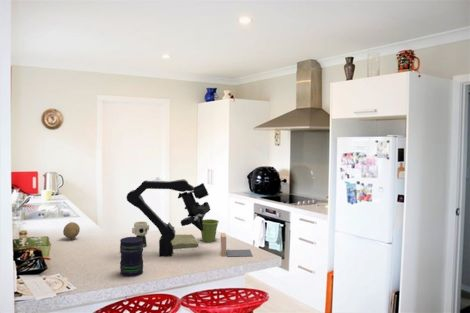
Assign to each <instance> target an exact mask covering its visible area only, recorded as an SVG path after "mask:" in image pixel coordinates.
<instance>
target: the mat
mask: <svg viewBox="0 0 470 313" xmlns="http://www.w3.org/2000/svg"><path fill="white" fill-rule="evenodd" d="M242 257H243V258H248V257H251V258H252V257H254V255H253V253H252V251H251V249H226V258H242Z"/></svg>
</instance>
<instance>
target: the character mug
mask: <svg viewBox="0 0 470 313" xmlns="http://www.w3.org/2000/svg"><path fill="white" fill-rule="evenodd" d="M149 230H150V225H149V224H148V222H147V221H135V222H134V223H133V227H132V228H131V233H132V234H134V235H135V237H141V238H143V247H146V246H147V244H148V243H147V237H146V235H147V234H148V232H149Z"/></svg>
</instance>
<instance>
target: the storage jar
mask: <svg viewBox="0 0 470 313" xmlns="http://www.w3.org/2000/svg"><path fill="white" fill-rule="evenodd" d="M119 242H120V244H119V245H120V246H119V253H120V263H119V270H120V275H121V277H126V278H133V277H138V276H141V275H142V274H143V273H144V260H143V252H144V246H143V238H141V237H136V236H127V237H123V238H121V239H120V240H119Z"/></svg>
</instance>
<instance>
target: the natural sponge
mask: <svg viewBox="0 0 470 313" xmlns="http://www.w3.org/2000/svg"><path fill="white" fill-rule="evenodd" d="M80 230H81V228H80V226H79V224H77V223H76V222H74V221H73V222H71V221H70V222H69V223H67V224H66V225H65V226H64V227H63V231H62V232H63V236H64V237H66V238H67V239H69V240H74V239H75V238H76V237H77V236H78V235H79V233H80Z"/></svg>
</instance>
